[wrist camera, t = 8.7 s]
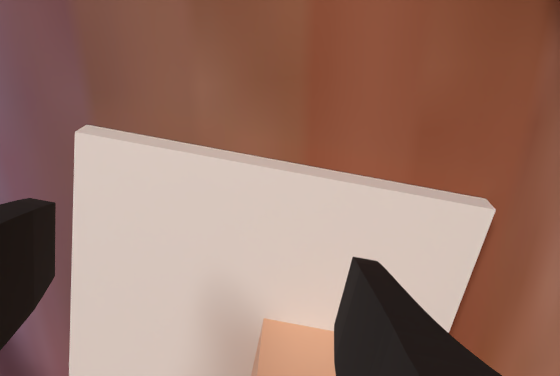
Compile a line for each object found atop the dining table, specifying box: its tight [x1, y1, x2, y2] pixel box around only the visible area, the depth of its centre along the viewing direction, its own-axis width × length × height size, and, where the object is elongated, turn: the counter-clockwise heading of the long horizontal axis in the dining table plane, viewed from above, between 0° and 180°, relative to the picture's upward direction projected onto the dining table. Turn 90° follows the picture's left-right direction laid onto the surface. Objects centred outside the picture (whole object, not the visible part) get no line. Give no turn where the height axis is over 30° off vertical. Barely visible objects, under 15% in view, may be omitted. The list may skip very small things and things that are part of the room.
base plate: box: [69, 125, 496, 376], centre depth 24 cm, size 18×17×1 cm
